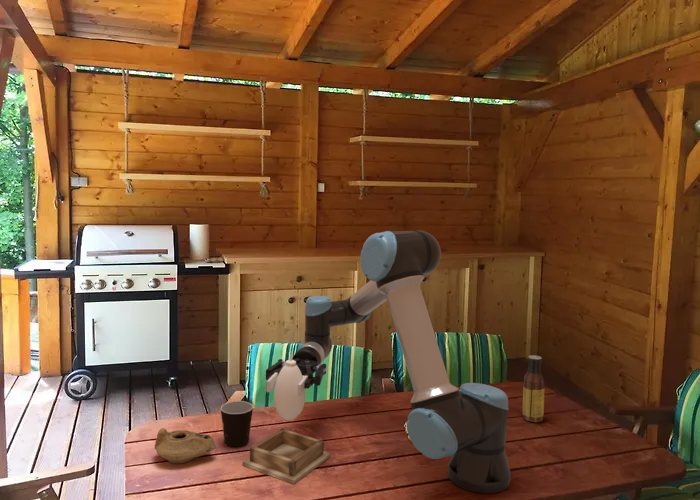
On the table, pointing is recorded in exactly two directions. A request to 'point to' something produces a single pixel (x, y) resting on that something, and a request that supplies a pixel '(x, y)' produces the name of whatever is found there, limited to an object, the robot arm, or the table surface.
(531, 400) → the sauce bottle
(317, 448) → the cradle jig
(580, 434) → the table surface
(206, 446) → the oil lamp
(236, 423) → the coffee mug
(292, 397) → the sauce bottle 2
